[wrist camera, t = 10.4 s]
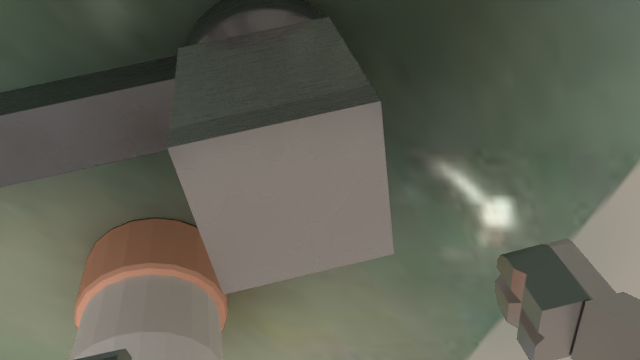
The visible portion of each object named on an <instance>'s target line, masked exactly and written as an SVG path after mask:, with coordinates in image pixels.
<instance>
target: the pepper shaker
mask: <svg viewBox="0 0 640 360" xmlns="http://www.w3.org/2000/svg"><path fill="white" fill-rule="evenodd" d="M227 315H228V301H227V294H225V295H223V292H222V290H221V287H220V285H219V282H218V279H217V277H216V274H215V271H214V269H213V266H212V264H211V261H210V258H209V256H208V253H207V251H206V248H205V245H204V243H203V240H202V238H201V235H200V232H199V230H198V228H197V227H194V226H191V225H188V224H186V223H183V222H180V221H176V220H166V219H156V218H153V219H146V220H139V221H132V222H129V223H127V224H124V225H122V226H119V227H117V228H115V229H112V230H110V231H109V232H108V233H107V234H106V235H104V236H103V237H102V238H101V239H100V240H98V241H97V242H96V243H95V245H94V247H93V249H92V251H91V252H90V254H89V256H88V258H87V262H86V266H85V270H84V273H83V277H82V281H81V285H80V289H79V292H78V296H77V300H76V304H75V321H74V322H75V324H76V326H77V328H78V331H77V335H76V338H75V342H74V345H73V349H72V352H71V356H70V359H69V360H74V359H79V358H84V357H88V356H93V355H97V354H102V353H106V352H111V351H115V350H120V349H126V350H127V351H128V353H129V354H130V355H131V357H132V360H223V353H222V339H221V332H222V330H223V329H224V326H225V322H226V318H227Z"/></svg>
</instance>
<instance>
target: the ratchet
mask: <svg viewBox="0 0 640 360" xmlns="http://www.w3.org/2000/svg"><path fill="white" fill-rule="evenodd" d="M320 18H323V17H322V16H321V14H320V13H319V12H318V11H317V10H315V9H314V8H313V7H312V6H310V5H309V4H307V3H306V2H304V1H302V0H222V1H220V2H219V3H217V4H215V5H214V6H213V7H212V8H210V9H209V10H208V11H207V12H206V13H205V14H204V15H203V16H202V17H201V18H200V19H199V20H198V21H197V23H196V24H195V26H194V27H193V29H192V31H191V33H190V35H189V37H188V39H187V42H186V45H185V47H186V46H191V45H196V44H200V43H205V42H210V41H215V40H220V39H224V38H229V37H234V36H239V35H243V34H248V33H253V32H258V31H263V30H267V29H272V28H277V27H282V26H287V25H291V24H296V23H301V22H306V21H311V20H315V19H320ZM176 65H177V56H173V57H168V58H164V59H159V60H154V61H149V62H145V63H140V64H135V65H130V66H126V67H121V68H116V69H111V70H107V71H102V72H97V73H92V74H88V75H83V76H78V77H73V78H68V79H64V80H59V81H54V82H49V83H45V84H40V85H35V86H30V87H26V88H21V89H16V90H11V91H7V92H2V93H0V187H3V186H8V185H12V184H17V183H21V182H26V181H30V180H35V179H39V178H44V177H48V176H53V175H57V174H62V173H66V172H71V171H75V170H80V169H85V168H89V167H94V166H98V165H103V164H107V163H112V162H116V161H121V160H125V159H130V158H134V157H139V156H143V155H148V154H152V153H157V152H161V151H166V150H168V149H167V146H168V137H169V128H170V119H171V110H172V101H173V92H174V83H175V74H176Z"/></svg>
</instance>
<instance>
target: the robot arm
mask: <svg viewBox="0 0 640 360" xmlns="http://www.w3.org/2000/svg"><path fill="white" fill-rule="evenodd" d="M497 269H498V270H499V272H500V273H501V275H500V276H499V277H498V278H497V280H496V281H495V294H496V299H497V303H498V306H499V308H500V310H501V313H502V314H503V316H504V318H505V320H506V321H507V322H508V323H510V324H511V325H513V326H515V327H517V328H518V334H517V340H518V342H519V344H520V345H521V347H522V349H523V350H524V352H525V354H526V355H527V357H528V359H529V360H555V359H560V358H564V357H568V356H571V359H573V360H640V300H639V299H637V298H635V297H633V296H631V295H629V294H627V293H624V292H621V293H616V292H615V291H614V290H613V289H612V288H611V286H610V285H609V284H608V283H607V282H606V280H605V279H604V278H603V277H602V276H601V275H600V274H599V272H598V271H597V270H596V269H595V268H594V267H593V265H592V264H591V263H590V262H589V261H588V259H587V258H586V257H585V256H584V255H583V254H582V253H581V251H580V250H579V249H578V248H577V247H576V245H575V244H574V243H573V242H572V241H570V240H569V239H562V240H558V241H554V242H550V243H546V244H540V245H536V246H533V247H529V248H525V249H521V250H517V251H513V252H510V253H506V254H502V255H500V256H499V258H498V260H497ZM74 360H132V357H131V355H130V354H129V353H128V351H127V350H126V349H120V350H115V351H111V352H106V353H102V354H97V355H93V356H88V357H84V358H79V359H74Z"/></svg>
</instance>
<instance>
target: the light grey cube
mask: <svg viewBox="0 0 640 360" xmlns="http://www.w3.org/2000/svg"><path fill="white" fill-rule="evenodd" d="M167 149H168V151H169V154H170V157H171V159H172V162H173V164H174V167H175V170H176V172H177V175H178V177H179V180H180V183H181V185H182V188H183V190H184V193H185V196H186V198H187V201H188V204H189V206H190V209H191V211H192V214H193V217H194V219H195V222H196V224H197V227H198V230H199V232H200V235H201V238H202V240H203V243H204V245H205V248H206V251H207V253H208V256H209V258H210V261H211V264H212V266H213V269H214V271H215V274H216V277H217V279H218V282H219V285H220V287H221V290H222V292H223V295H225V294H229V293H233V292H237V291H241V290H246V289H250V288H254V287H258V286H262V285H266V284H271V283H275V282H279V281H283V280H287V279H291V278H296V277H300V276H304V275H308V274H312V273H317V272H321V271H325V270H329V269H333V268H337V267H342V266H346V265H350V264H354V263H358V262H363V261H367V260H371V259H375V258H379V257H383V256H388V255H392V254H394V249H393V238H392V226H391V214H390V202H389V191H388V179H387V167H386V155H385V144H384V132H383V120H382V108H381V100H380V99H379V97H378V95H377V94H376V92H375V91H374V89H373V87H372V86H371V84H370V83H369V81H368V79H367V78H366V76H365V74H364V73H363V71H362V70H361V68H360V66H359V65H358V63H357V61H356V60H355V58H354V57H353V55H352V53H351V52H350V50H349V49H348V47H347V45H346V44H345V42H344V40H343V39H342V37H341V36H340V34H339V32H338V31H337V29H336V27H335V26H334V24H333V23H332V21H331V19H330V18H329V17H325V18H320V19H315V20H311V21H306V22H301V23H296V24H291V25H287V26H282V27H277V28H272V29H267V30H263V31H258V32H253V33H248V34H243V35H239V36H234V37H229V38H224V39H220V40H215V41H210V42H205V43H200V44H196V45H191V46H186V47H181V48H178V56H177V65H176V74H175V83H174V92H173V101H172V110H171V119H170V128H169V137H168V146H167Z"/></svg>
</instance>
